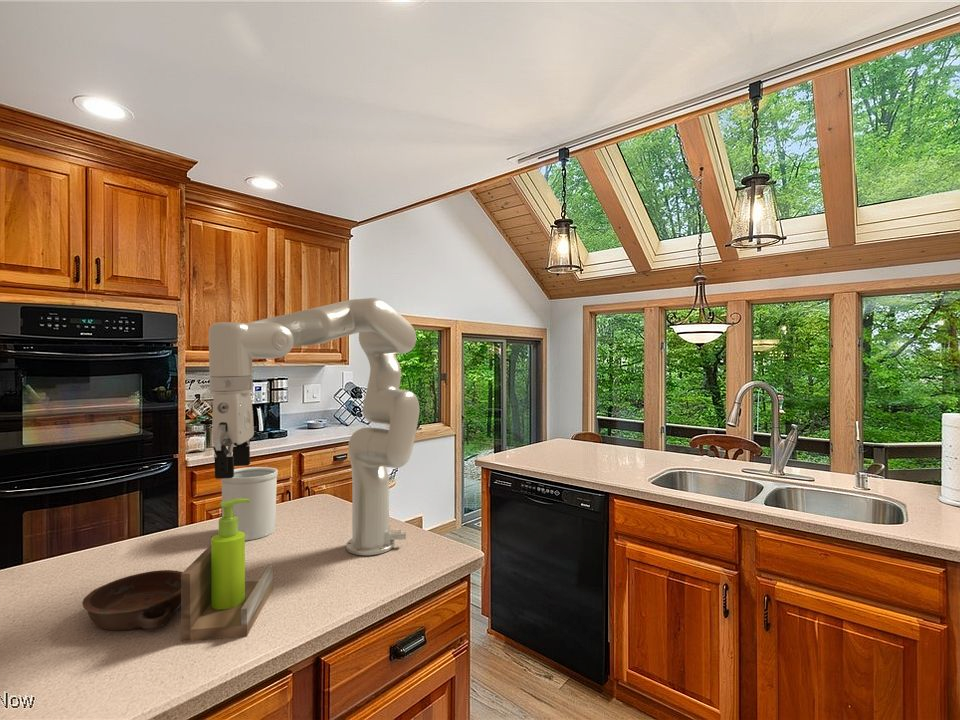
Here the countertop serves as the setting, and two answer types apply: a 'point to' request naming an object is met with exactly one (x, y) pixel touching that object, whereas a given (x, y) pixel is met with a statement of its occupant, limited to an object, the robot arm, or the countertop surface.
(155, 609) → the dish
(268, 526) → the utensil holder
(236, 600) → the soap dispenser
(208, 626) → the board
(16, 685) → the countertop surface
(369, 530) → the robot arm
